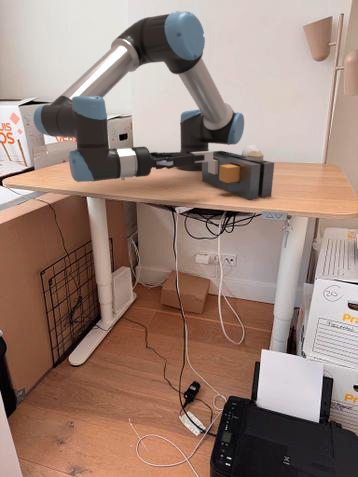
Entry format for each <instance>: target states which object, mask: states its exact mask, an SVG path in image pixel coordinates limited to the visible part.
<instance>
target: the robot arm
mask: <svg viewBox="0 0 358 477" xmlns="http://www.w3.org/2000/svg"><path fill="white" fill-rule="evenodd" d="M204 35H205V32H204V28H203V26H202V23H201V21H200V19H199V18H198V17H197V15H195V14H194V13H193V12H191V11H184V10H183V11H178V10H176V11H172V12H171V13H167V14H161V15H155V16H148V17H143V18H142V19H139V20H137V21H135V22H134V23H133V24H131V25H130V26H128V27H127V28H126V29H125V30H123V32H121V34H120V35H118V36H117V37H116V38H115V39H114V40H112V42H111V44H110V49H109V50H108V51H107V52H105V54H104V55H102V56H101V57H100V58H99V59H98V60H97V61H96V62H95V63H93V65H92V66H91V67H90V68H88V69H87V70H86V71H85V72H84V73H83V74H82V75H80V77H79V78H78V79H76V81H75V82H73V83H72V84H71V85H70V86H69V87H68V88H67V89H66V90H65V91H64V92H63V93H61V95H60V96H58V97H57V98H56V99H55V100H54V101H52V102H51V103H50V104H44V105H40V106H38V107H37V108H36V109H35V111H34V112H33V123H34V126H35V128H36V130H38V131H39V133H40V134H42V135H44V136H45V135H46V136H49V137H52V138H53V137H54V138H56V137H57V138H58V137H60V138H74V139H75V141H76V149H75V150H71V151H69V153H68V160H69V161H68V162H69V164H68V165H69V170H70V175H71V177H72V179H73V180H74V181H75V182H77V183H83V182H88V183H89V182H92V183H95V182H99V181H108V180H109V181H110V180H118V179H120V180H121V181H125V180H126V178H133V177H136V178H141V177H147V176H150V174H151V172H152V168H155V169H156V170H162V169H164V168H166V169H168V170H170V169H174V168H176V169H178V170H183V171H202V162H211V161H213V151H212V150H209V144H217V145H218V144H220V145H228V146H230V145H237V144H239V142H240V141H241V139H242V137H243V134H244V128H245V116H244V115H243V113H242V112H239V111H238V112H235V111H234V109H233V107H232V106H231V105H230V104H229V103H227V102H225V101H224V99H223V98H222V95H221V93H220V91H219V89H218V87H217V85H216V83H215V81H214V79H213V77H212V75H211V73H210V71H209V69H208V67H207V66H206V63H205V62H204V60H203V56H204V50H205V45H206V43H205V42H206V40H205V39H206V38H205V37H204ZM151 63H152V64H154V63H164V64H165V65H166V67H167V69H168V70H169V72H170V73H171V74H173V75H178V77H179V78H180V80H181V82H182V84H183V85H184V86H185V88H186V90H187V91H188V93H189V95H190V96H191V98H192V99H193V101H194V102H195V105H196V106H197V107H198V109H192V110H191V109H190V110H185V111H183V112H182V113H181V114H180V120H179V121H180V122H179V125H180V151H177V152H176V151H175V152H171V151H170V152H164V151H163V152H157V151H149V148H147V147H146V146H133V147H129V146H128V147H115V148H110V144H109V130H108V129H109V128H108V113H107V109H106V102H105V99H104V97H106V96H107V95H108V93H109V92H111V90H112V89H113V88H114V87H116V85H117V84H118V83H120V82H121V80H122V79H123V78H124V77H125V76H126V75H127V74H128V73H131V72H135V71H137V69H138V68H140V67H141V66H144V65H146V64H151Z"/></svg>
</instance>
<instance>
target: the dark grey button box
mask: <svg viewBox="0 0 358 477" xmlns="http://www.w3.org/2000/svg"><path fill="white" fill-rule="evenodd" d="M213 158H216V159H219V162H218V174H212V173H209V172H208V162H202V170H201V181H202V182H204V183H206V184H209V185H211V186H214V187H216V188H218V189H222V190H223V191H226V192H229V193H231V194H233V195H236V196H238V197H241V198H243V199H246V200H249V201H251V200H258V198H261V199H264V198H271V197H272V192H273V183H274V182H273V181H274V171H275V162H272V161H268V160H264V159H263V160H260V159H256V158H251V157H247V156H243V155H242V154H237V153H233V152H228V151H225V150H217V151H213ZM229 164H233V165H237V166H240V181H238V182H230V183H226V182H223V181H221V180H219V173H220V165H229Z"/></svg>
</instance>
